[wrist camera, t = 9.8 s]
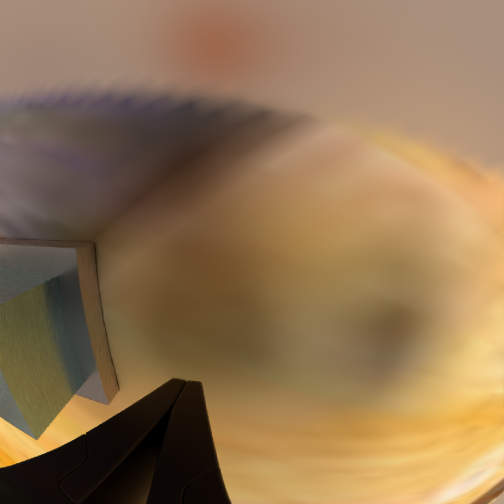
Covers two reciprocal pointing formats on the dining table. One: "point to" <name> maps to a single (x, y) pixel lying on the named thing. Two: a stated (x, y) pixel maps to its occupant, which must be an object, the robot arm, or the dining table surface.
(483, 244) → the dining table surface
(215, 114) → the dining table surface
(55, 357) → the clip
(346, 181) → the dining table surface
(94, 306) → the panel
